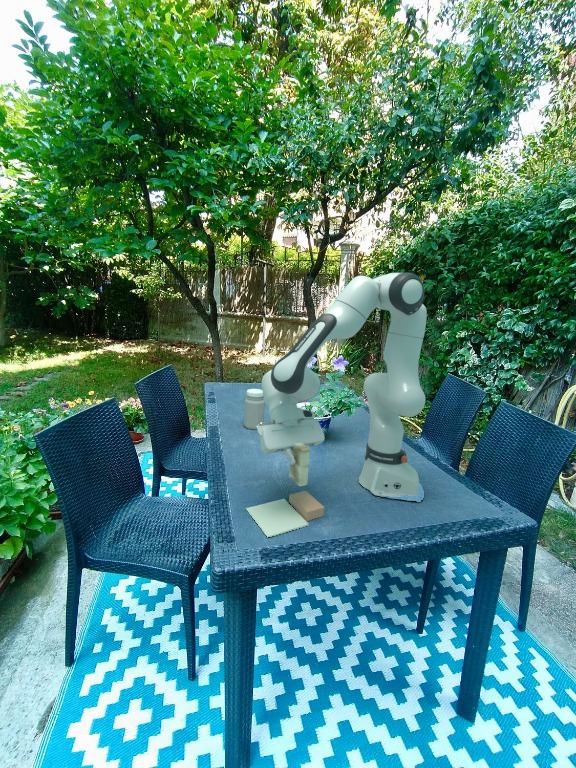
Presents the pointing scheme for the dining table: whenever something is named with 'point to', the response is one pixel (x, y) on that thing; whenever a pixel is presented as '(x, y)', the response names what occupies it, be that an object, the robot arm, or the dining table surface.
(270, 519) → the rubber mat
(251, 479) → the dining table surface
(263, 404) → the jar
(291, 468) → the birch block
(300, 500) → the terracotta step
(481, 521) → the dining table surface
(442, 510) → the dining table surface
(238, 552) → the dining table surface
